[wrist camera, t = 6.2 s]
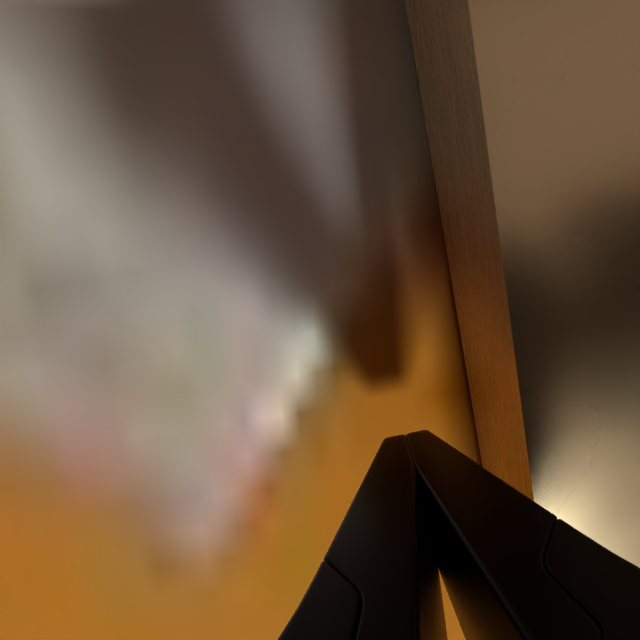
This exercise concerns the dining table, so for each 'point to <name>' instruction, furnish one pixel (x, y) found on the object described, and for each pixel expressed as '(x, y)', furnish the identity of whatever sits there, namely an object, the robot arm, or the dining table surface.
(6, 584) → the dining table surface
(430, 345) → the dining table surface
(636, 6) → the beige block with rivets
